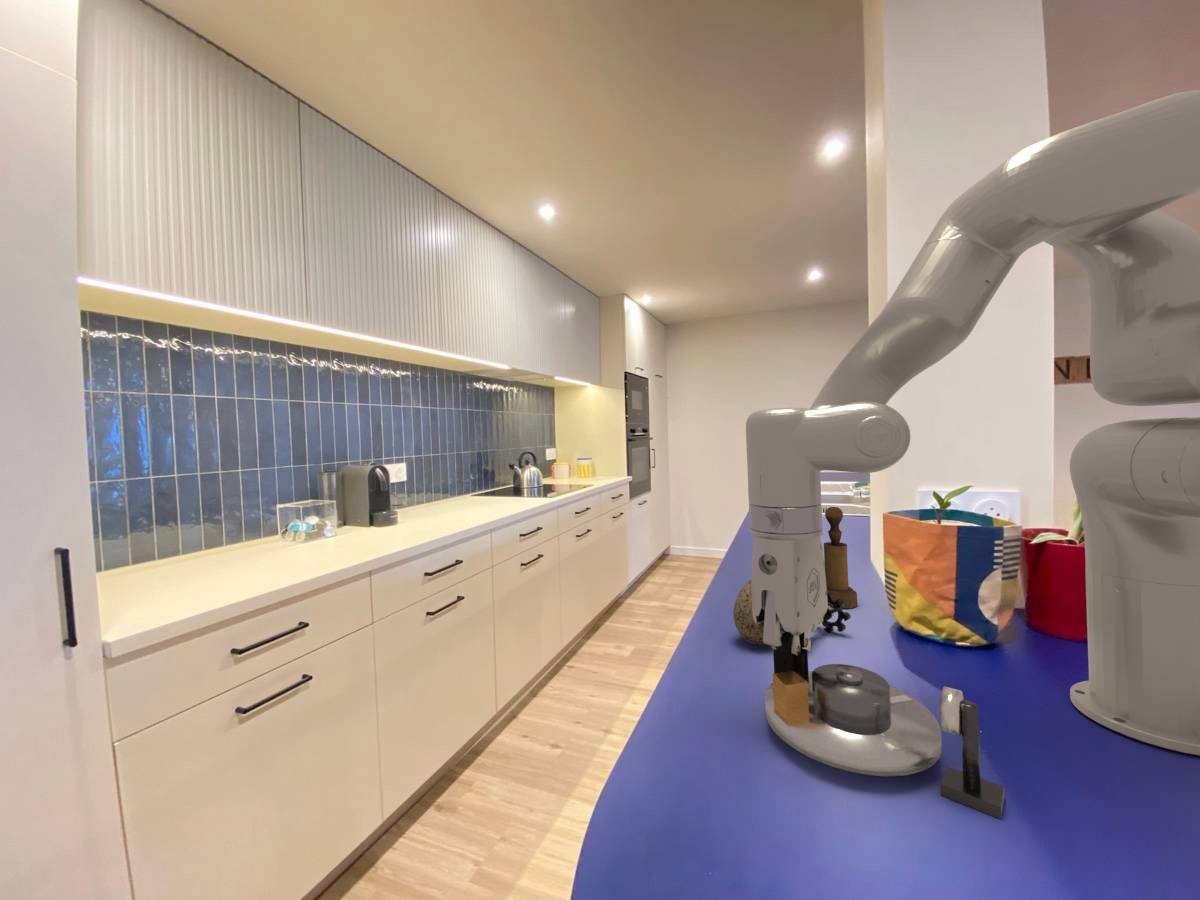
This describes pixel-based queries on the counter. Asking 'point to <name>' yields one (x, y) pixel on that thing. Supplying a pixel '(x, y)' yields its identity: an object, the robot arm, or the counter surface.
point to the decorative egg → (747, 617)
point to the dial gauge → (967, 757)
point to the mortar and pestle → (837, 562)
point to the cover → (851, 699)
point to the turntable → (883, 754)
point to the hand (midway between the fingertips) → (791, 683)
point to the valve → (828, 615)
